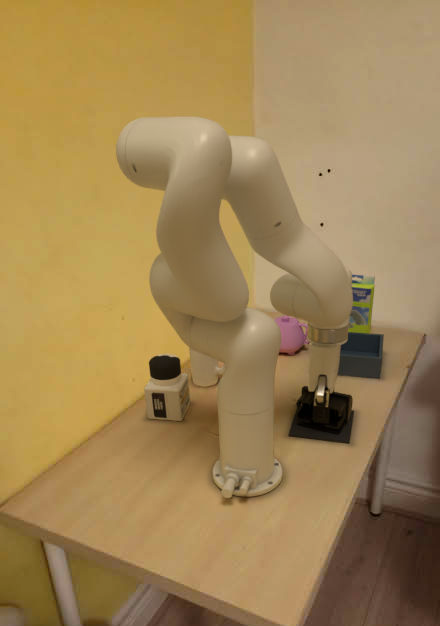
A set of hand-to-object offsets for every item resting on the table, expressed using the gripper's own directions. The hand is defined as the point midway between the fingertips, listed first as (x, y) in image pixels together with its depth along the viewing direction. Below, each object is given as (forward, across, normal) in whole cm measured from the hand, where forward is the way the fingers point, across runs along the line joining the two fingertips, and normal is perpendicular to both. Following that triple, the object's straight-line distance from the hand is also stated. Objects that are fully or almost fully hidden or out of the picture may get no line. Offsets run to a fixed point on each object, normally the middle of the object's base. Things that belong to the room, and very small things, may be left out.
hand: (323, 410), depth 110 cm
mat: (+3, 0, 0) cm, 3 cm away
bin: (+3, -30, +3) cm, 30 cm away
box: (+3, -46, +2) cm, 46 cm away
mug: (+3, -13, -28) cm, 31 cm away
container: (+3, +2, -33) cm, 33 cm away
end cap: (+3, 0, 0) cm, 3 cm away
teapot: (+3, -35, -15) cm, 38 cm away
